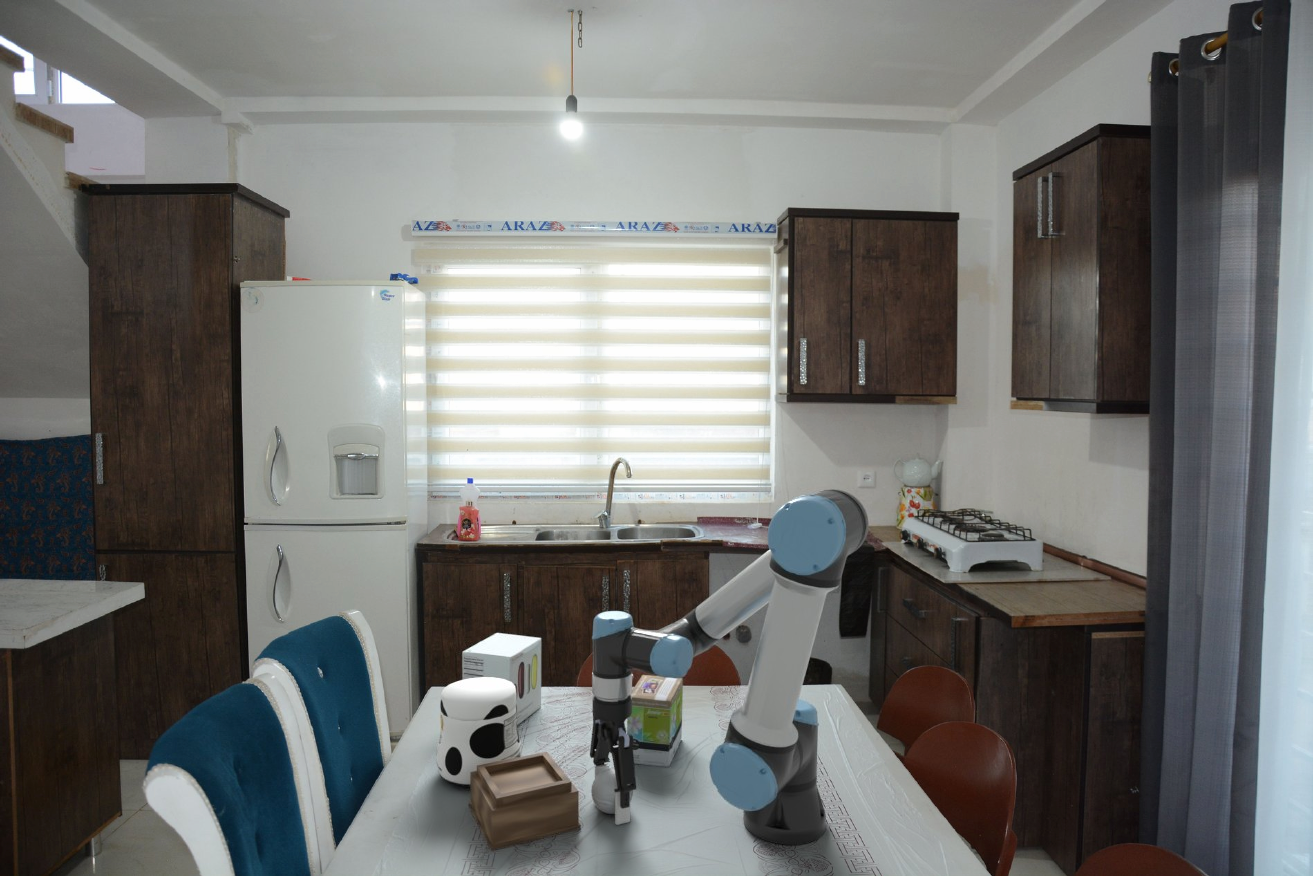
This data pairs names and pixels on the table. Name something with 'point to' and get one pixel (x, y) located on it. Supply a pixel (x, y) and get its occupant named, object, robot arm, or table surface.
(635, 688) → the tea box
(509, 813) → the brown open square box
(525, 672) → the supplement box
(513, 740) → the milk container
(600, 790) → the bath bomb
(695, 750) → the table surface
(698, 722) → the table surface
